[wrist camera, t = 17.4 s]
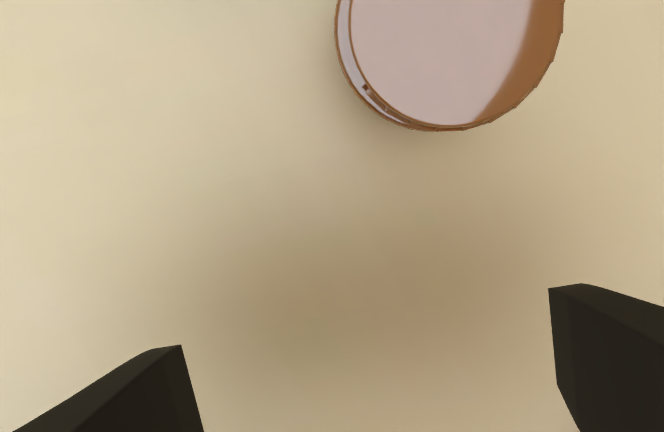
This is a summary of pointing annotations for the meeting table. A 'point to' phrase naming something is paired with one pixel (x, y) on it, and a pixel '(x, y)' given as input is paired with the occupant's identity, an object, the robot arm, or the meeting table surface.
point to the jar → (445, 57)
